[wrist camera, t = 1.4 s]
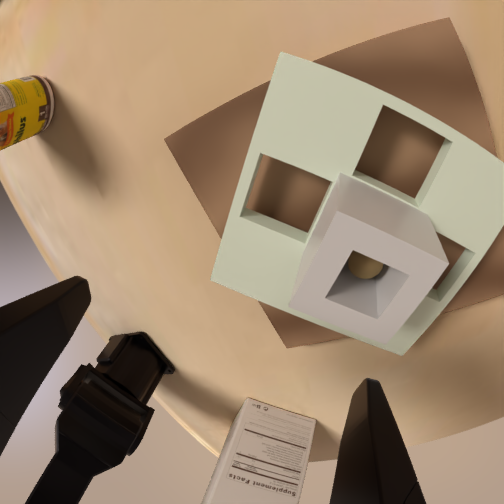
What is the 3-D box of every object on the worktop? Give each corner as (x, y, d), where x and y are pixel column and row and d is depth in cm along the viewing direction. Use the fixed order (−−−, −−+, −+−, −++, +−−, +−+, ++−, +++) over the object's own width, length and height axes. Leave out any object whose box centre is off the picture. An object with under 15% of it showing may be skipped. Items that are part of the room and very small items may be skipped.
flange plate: (518, 174, 13) (571, 220, 8) (401, 343, 21) (404, 410, 16) (285, 52, 13) (254, 44, 9) (216, 269, 22) (180, 328, 17)
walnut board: (501, 275, 19) (532, 342, 13) (291, 331, 27) (272, 398, 21) (439, 22, 12) (485, 1, 6) (178, 132, 20) (114, 164, 15)
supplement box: (291, 444, 39) (264, 539, 27) (230, 423, 39) (192, 518, 27) (319, 419, 34) (292, 536, 21) (247, 395, 34) (203, 513, 22)
